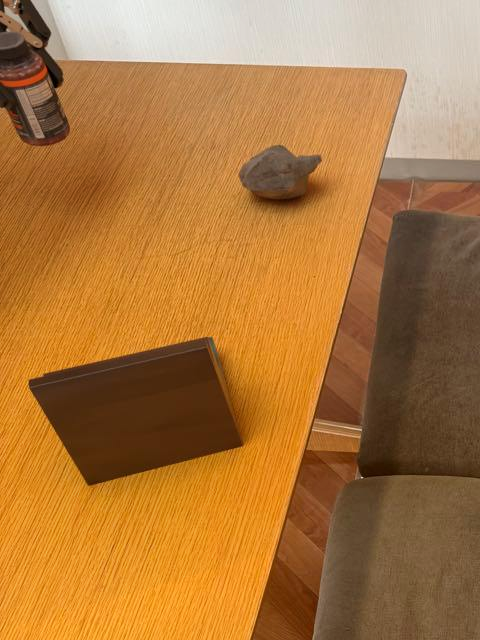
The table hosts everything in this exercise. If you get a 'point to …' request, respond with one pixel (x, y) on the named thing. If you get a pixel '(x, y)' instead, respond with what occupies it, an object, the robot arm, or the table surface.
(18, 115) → the supplement bottle
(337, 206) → the table surface
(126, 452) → the brown wooden box
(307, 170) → the fossil
